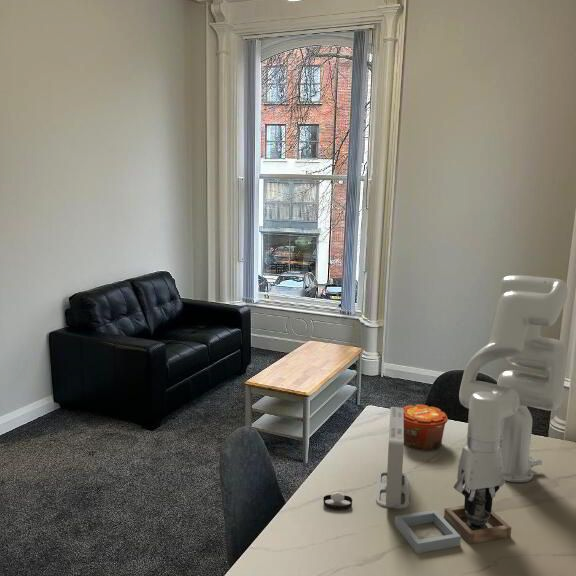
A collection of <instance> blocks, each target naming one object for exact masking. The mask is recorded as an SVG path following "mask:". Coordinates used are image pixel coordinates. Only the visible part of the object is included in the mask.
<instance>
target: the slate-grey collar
mask: <svg viewBox="0 0 576 576" xmlns="http://www.w3.org/2000/svg"><path fill="white" fill-rule="evenodd" d="M430 523H433V524H434V525H435V526H436V527H437V528H438V529H439V530H440V531H441V533H443V534H444V535H439V536H435V537H429V538H423V539H420V538H419V537H418V536H417V534H415V532H414V531H413V530H412V529H411V527H412V526H418V525H424V524H430ZM394 526H395V527H396V529H397V530H398V531H399V533H400V534H401V535H402V536H403V538H404V539H405V540H406V542H408V544H409V545H410V546H411V549H413V551H414V552H415V553H416V554H422V553H429V552H433V551H439V550H443V549H444V550H445V549H451V548H455V547H460V546H461V543H462V542H461V541H462V539H461V538H462V535H461V534H460V533H459V532H458V531H457V530H456V529H455V528H454V527H453V526H452V525H451V524H450V523H449V522H448V521H447V520H446V519H445V518H444V516H442V515H441V514H440V513H439V512H438V511H437V510H436V509H433V510H426V511H420V512H414V513H412V512H411V513H407V514H402V515H401V514H399V515H395V516H394Z"/></svg>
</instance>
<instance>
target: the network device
mask: <svg viewBox="0 0 576 576" xmlns="http://www.w3.org/2000/svg"><path fill="white" fill-rule="evenodd" d="M389 412H390V413H389V431H388V445H387V447H388V451H387V468H386V469H387V470H382V471H379V472H378V473H377V480H376V491H375V503H376V504H377V505H379V506H381V507H384V508H391V509H398V510H399V509H401V510H402V509H406V508H407V507H409V504H410V503H409V502H410V500H409V497H410V495H409V476H408V475H407V474H405V472H403V468H404V466H403V464H404V448H405V447H404V446H405V444H404V420H403V407H396V406H390V409H389ZM383 475H386V483H383V482H382V476H383ZM403 479H404V485H402V484H403ZM381 492H386V493H385V494H386V495H385V501H382V500H380V498H381V497H380V496H381V495H380V494H381ZM402 494H403V495H404V503H402Z"/></svg>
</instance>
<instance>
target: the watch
mask: <svg viewBox="0 0 576 576" xmlns="http://www.w3.org/2000/svg"><path fill="white" fill-rule="evenodd" d="M322 500H323V505H324V507H325V508H326V509H329V510H333V511H346V510H349V509H351V507H352V506H353V498H352V497H351V496H349V495H345V494H343V493H342V492H340V491H336V492H335V491H334V493H332V494H326V495H324V496H323V499H322ZM329 500H332V501H333V502H335V503H342V502H343V501H347V502H349V503H348V504H346V505H336V504H331V503H328V502H326V501H329Z"/></svg>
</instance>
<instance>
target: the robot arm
mask: <svg viewBox="0 0 576 576" xmlns="http://www.w3.org/2000/svg"><path fill="white" fill-rule="evenodd" d="M500 293H501V296H500V297H499V301H498V304H497V308H496V312H495V315H494V316H495V317H494V320H493V325H492V329H491V333H490V338H489V341H488V343H487V344H486V345H485V346H483V347H482V348H480V349H479V350H478V351H476V353H474V354H473V355H472V356H471V358H470V359H469V361H468V362H467V363H466V365H465V367H464V370H463V373H462V374H463V375H462V379H461V383H460V386H459V387H460V388H459V393H458V397H459V402H460V404H461V405H462V406H463V407H464V408H466V409H468V418H467V419H468V420H467V423H468V424H467V434H466V444H465V445H463V446H462V449H461V453H460V456H459V462H458V468H457V476H456V479H457V481H456V482H455V484H454V485H453V489H454V490H455V491H456V492H458V493H460V494H462V495H463V497H464V508H465V510H466V511H467V512H468V513H469V514H470V515H471V516H473V515H474V512H475V501H474V500H473V499H474V495H475V491H476V489H482V488H485V499H486V503H485V507H484V508H485V510H486V511H487V512H488V513H491V510H492V508H493V498H495V497H496V493H497V492H498V491H499V490H500V488H501V487H502V486H504V485H505V484H506V482H511V483H527V482H530V481H531V480H532V479H533V478H534V471H533V469H532V468H534V467H537V466H541V465H543V461H542V459H541V458H534V459H533V457H532V456H530V453H531V443H532V442H531V441H532V432H533V431H532V430H533V417H532V413H531V411H530V410H529V409H528V407H530V408H535V409H538V410H539V409H540V410H543V411H544V410H545V411H549V412H550V411H551V412H553V411H556V410H557V411H558V409H559V408H560V407H561V405H562V401H563V398H564V397H563V395H564V391H565V390H564V388H565V382H566V381H565V379H566V371H567V362H568V360H567V359H568V352H567V351H568V350H567V346H566V344H565V343H564V342H563V341H562V340H559V339H556V338H549V337H544V336H542V335H541V329H542V327H551V326H553V325H554V324H555V323H556V322H557V321H558V319H559V317H560V315H561V313H562V310H563V309H564V306H565V304H566V302H567V299H568V293H569V289H568V285H567V283H566V281H564V280H563V279H560V278H553V277H544V276H535V275H534V276H533V275H523V274H522V275H521V274H513V275H512V274H511V275H506V276H505V277H503V278H502V279H501V282H500ZM503 359H506V360H507V362H508V363H509V364H511V365H513V366H516V367H520V368H525V369H531V370H537V371H542V372H544V373H545V374H546V375H544V374H537V373H532V372H529V371H527V372H526V371H522V370H514V369H508V370H504V371H502V372H501V373H500V374H499V375H498V378H497V382H496V383H497V384H495V383H491V382H487V381H481V380H477V376H478V374H479V372H480V371H481V370H482V369H483V368H484V366H486V365H488V364H491V362H495V361H498V360H503Z"/></svg>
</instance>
